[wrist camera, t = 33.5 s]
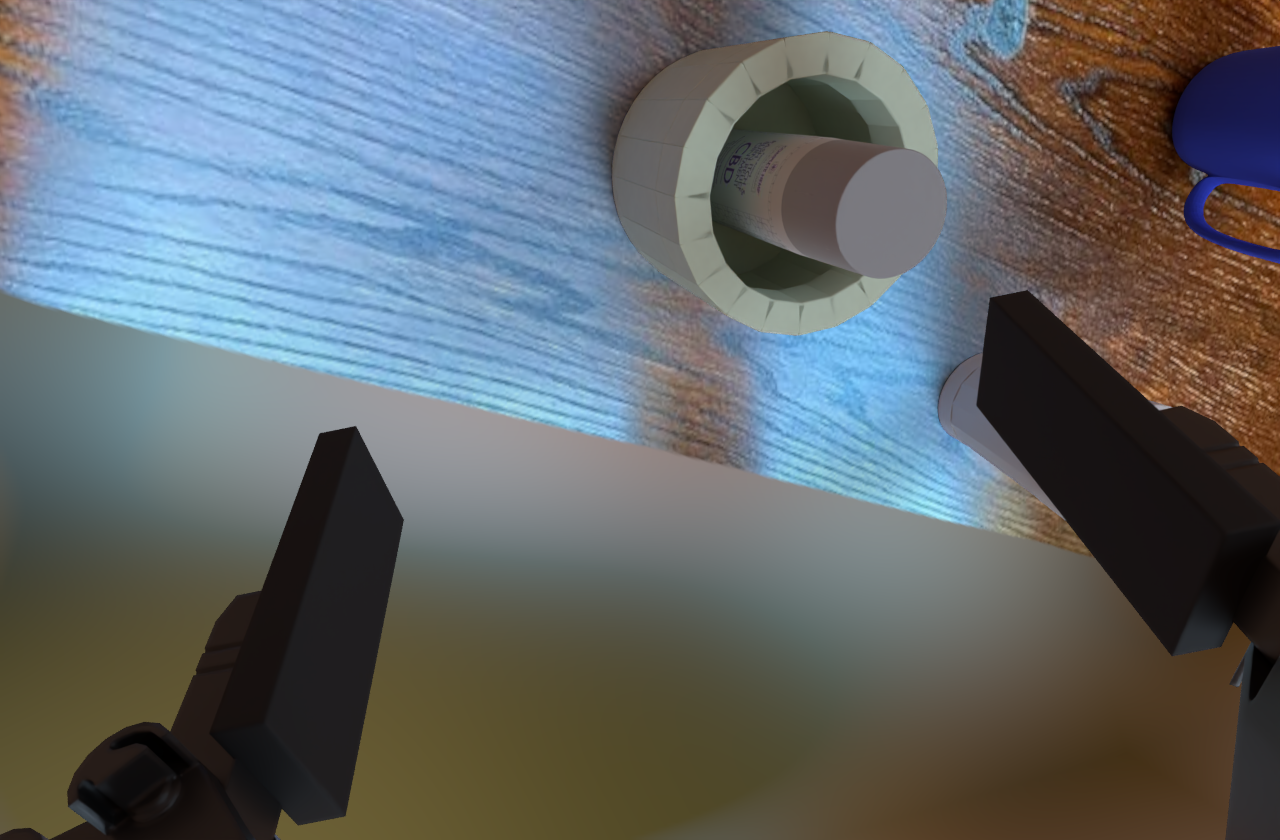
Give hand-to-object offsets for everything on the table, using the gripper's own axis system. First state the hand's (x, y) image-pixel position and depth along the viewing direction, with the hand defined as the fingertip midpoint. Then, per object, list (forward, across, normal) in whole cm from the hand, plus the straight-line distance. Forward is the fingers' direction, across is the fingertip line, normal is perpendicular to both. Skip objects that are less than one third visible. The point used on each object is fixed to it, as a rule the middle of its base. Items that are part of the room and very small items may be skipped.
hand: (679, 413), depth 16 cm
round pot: (+27, +6, -5) cm, 28 cm away
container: (+26, +6, -5) cm, 27 cm away
